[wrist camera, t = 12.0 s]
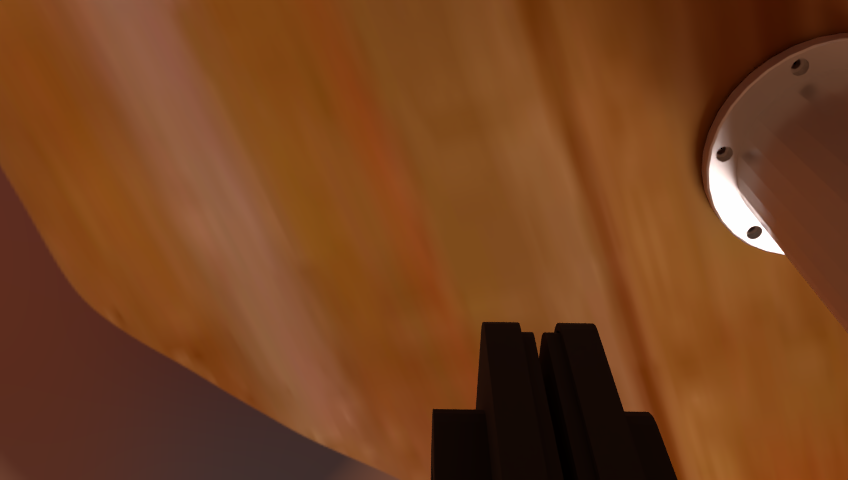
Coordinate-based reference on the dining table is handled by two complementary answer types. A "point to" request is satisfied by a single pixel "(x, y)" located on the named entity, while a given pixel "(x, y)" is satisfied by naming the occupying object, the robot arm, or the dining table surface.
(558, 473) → the robot arm
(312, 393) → the dining table surface
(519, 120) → the dining table surface
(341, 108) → the dining table surface
